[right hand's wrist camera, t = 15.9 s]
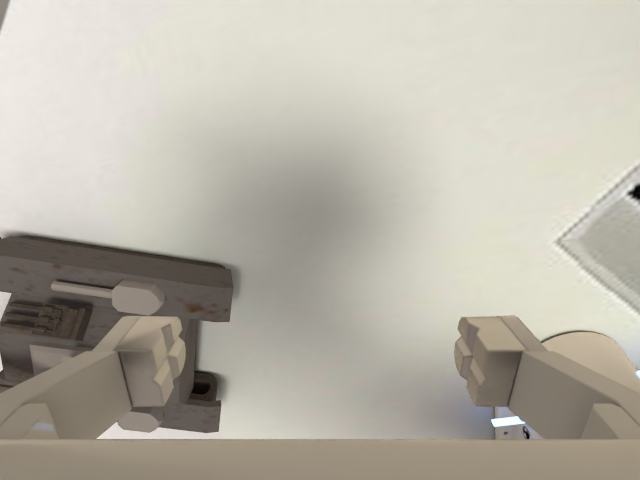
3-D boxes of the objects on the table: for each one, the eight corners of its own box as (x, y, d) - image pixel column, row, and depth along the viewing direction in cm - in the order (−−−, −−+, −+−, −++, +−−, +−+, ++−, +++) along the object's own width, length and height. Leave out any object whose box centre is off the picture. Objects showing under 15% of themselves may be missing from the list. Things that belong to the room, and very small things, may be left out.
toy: (242, 265, 41) (202, 354, 27) (229, 399, 48) (192, 523, 34) (8, 229, 39) (-164, 303, 25) (31, 373, 46) (-93, 493, 33)
